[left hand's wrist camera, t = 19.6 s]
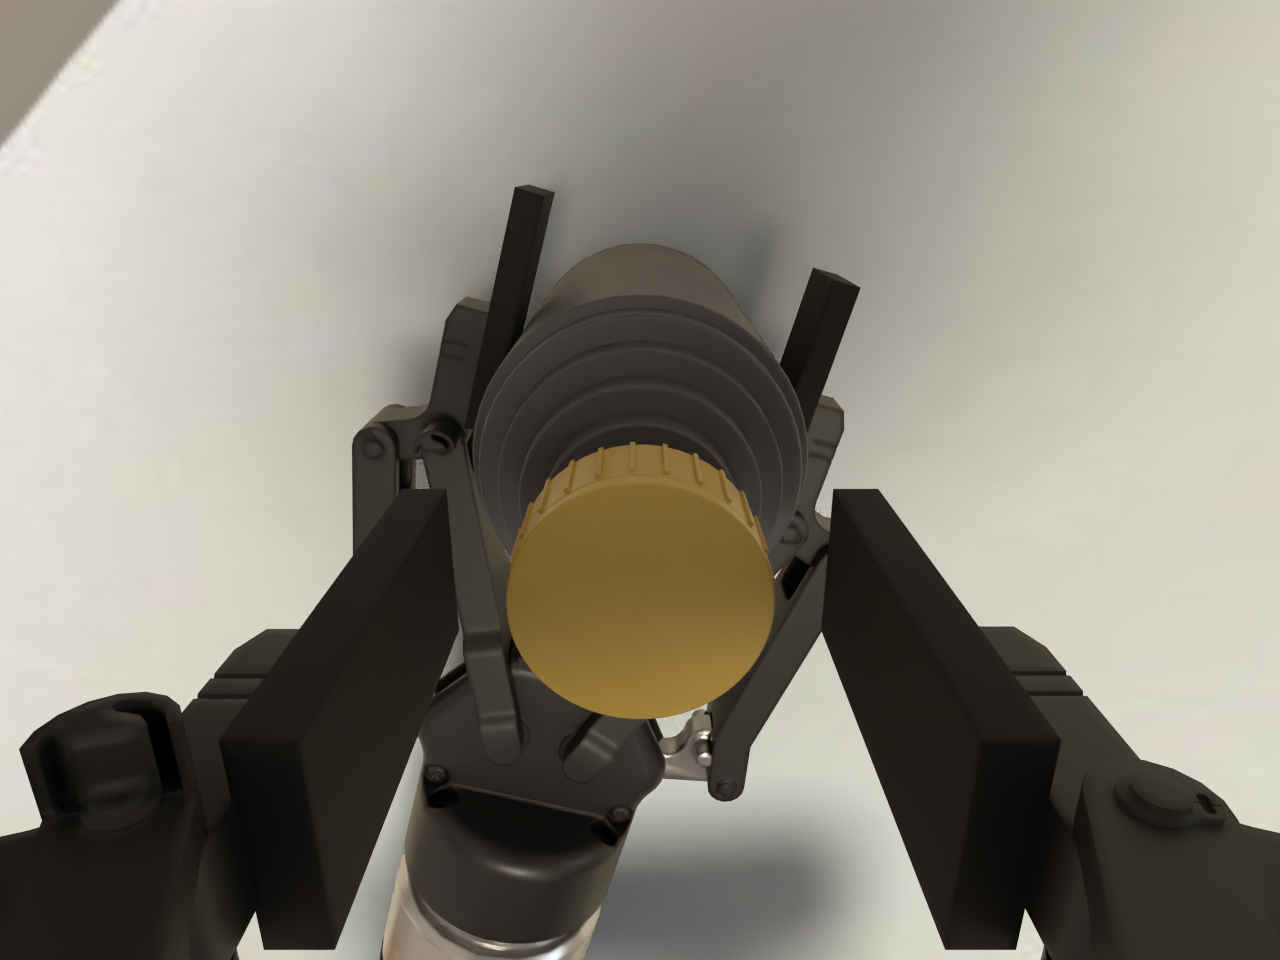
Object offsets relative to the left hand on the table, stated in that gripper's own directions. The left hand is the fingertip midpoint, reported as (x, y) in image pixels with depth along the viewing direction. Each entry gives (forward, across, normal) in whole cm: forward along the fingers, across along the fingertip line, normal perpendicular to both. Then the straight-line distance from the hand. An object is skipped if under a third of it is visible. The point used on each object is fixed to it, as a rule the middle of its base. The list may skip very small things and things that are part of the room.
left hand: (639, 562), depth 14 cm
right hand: (+10, -1, -5) cm, 11 cm away
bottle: (+17, 0, 0) cm, 17 cm away
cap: (-1, 0, 0) cm, 1 cm away
